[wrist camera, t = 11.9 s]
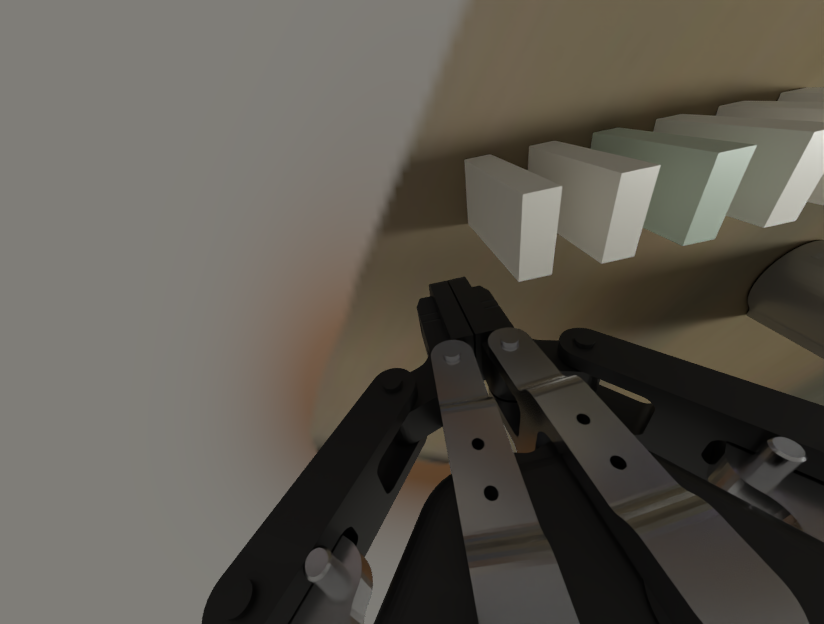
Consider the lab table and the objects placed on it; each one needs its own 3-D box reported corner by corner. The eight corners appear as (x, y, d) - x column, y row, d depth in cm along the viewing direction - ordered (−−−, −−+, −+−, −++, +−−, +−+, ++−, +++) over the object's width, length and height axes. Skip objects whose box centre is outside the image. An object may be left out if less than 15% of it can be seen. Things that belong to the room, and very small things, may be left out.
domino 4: (681, 113, 23) (852, 123, 15) (661, 182, 26) (795, 220, 18) (656, 119, 23) (814, 131, 15) (638, 186, 26) (763, 227, 18)
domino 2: (554, 140, 23) (660, 164, 15) (548, 206, 26) (634, 256, 18) (529, 145, 23) (621, 173, 15) (525, 211, 26) (601, 263, 18)
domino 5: (743, 100, 24) (946, 103, 15) (716, 170, 26) (874, 203, 18) (719, 105, 24) (908, 111, 15) (694, 174, 26) (843, 210, 18)
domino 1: (490, 154, 23) (562, 185, 15) (491, 218, 26) (551, 274, 18) (464, 159, 23) (522, 194, 15) (468, 223, 26) (518, 282, 18)
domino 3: (618, 127, 23) (757, 144, 15) (604, 194, 26) (714, 238, 18) (592, 132, 23) (718, 152, 15) (582, 199, 26) (682, 246, 18)
